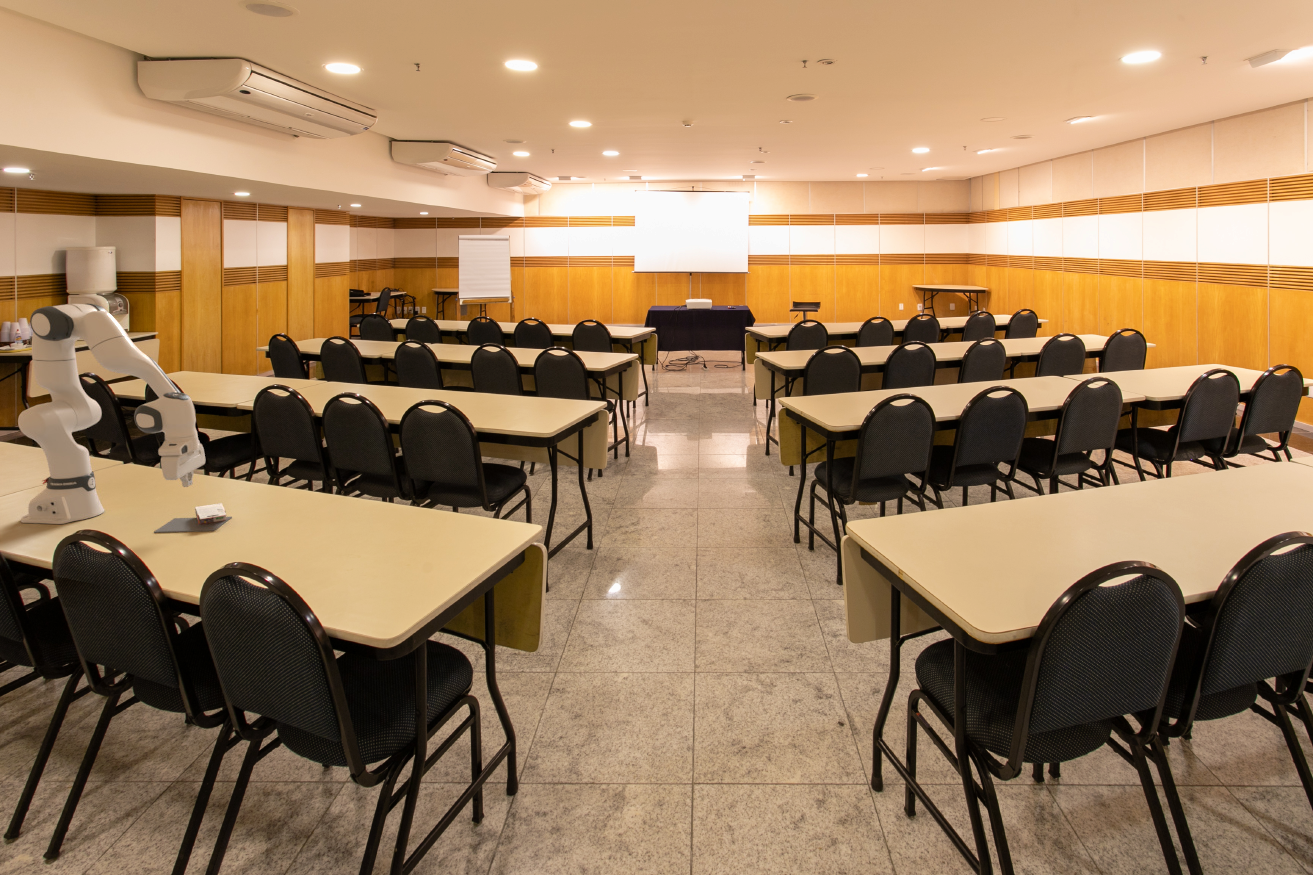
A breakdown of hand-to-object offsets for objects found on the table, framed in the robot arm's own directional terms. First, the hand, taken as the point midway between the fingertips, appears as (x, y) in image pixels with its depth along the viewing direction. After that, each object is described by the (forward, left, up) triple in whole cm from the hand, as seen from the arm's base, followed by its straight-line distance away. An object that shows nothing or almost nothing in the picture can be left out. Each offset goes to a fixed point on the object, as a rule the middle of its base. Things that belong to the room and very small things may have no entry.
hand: (187, 485), depth 245 cm
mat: (0, 0, -13) cm, 13 cm away
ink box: (+1, +9, -11) cm, 15 cm away
